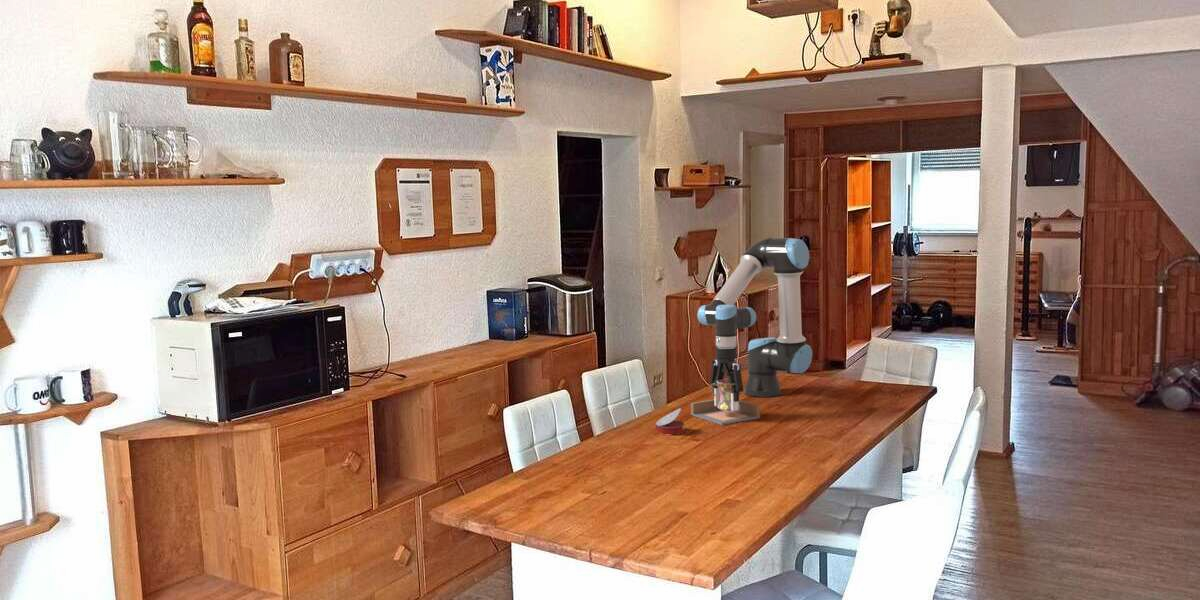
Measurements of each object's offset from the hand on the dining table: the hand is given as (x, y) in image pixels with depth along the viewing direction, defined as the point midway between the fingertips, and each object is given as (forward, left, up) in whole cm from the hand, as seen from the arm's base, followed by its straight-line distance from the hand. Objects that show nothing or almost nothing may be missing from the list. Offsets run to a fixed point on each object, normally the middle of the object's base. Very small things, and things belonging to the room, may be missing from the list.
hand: (726, 407), depth 336 cm
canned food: (+28, +3, -5) cm, 28 cm away
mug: (0, 0, -1) cm, 1 cm away
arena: (-1, -2, -4) cm, 5 cm away
